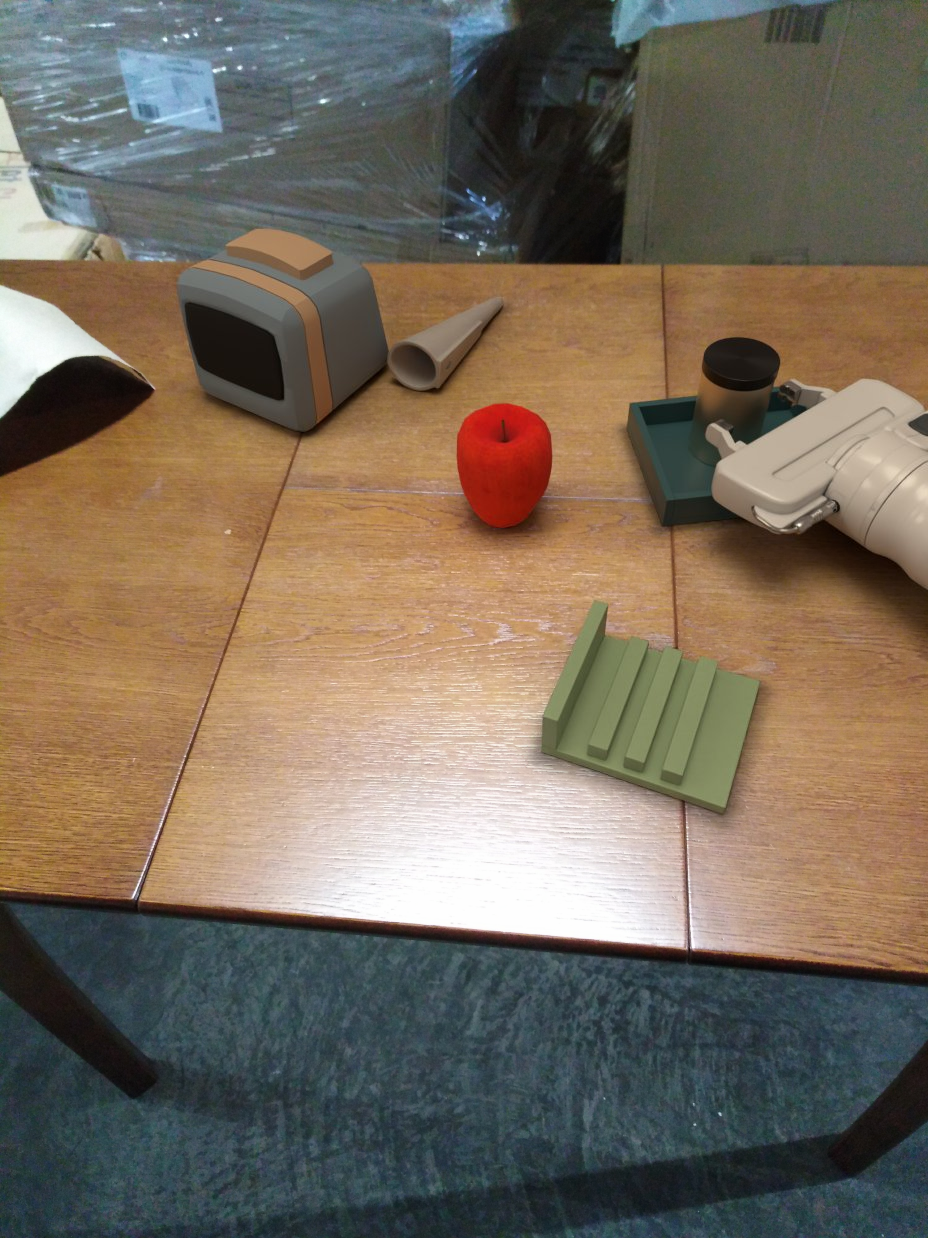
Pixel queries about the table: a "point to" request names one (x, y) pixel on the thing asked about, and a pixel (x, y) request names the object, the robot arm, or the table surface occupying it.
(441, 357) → the long tapered cone
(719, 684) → the drying rack
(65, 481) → the table surface
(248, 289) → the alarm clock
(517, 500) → the apple
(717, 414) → the travel mug
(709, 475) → the tray
